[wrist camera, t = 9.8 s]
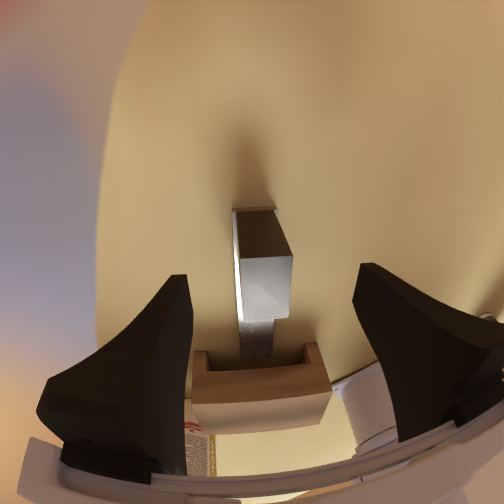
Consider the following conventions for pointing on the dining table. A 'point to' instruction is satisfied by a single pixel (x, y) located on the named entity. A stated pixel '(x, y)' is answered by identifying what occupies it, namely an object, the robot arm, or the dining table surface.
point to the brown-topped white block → (260, 277)
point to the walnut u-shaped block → (260, 395)
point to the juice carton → (198, 446)
